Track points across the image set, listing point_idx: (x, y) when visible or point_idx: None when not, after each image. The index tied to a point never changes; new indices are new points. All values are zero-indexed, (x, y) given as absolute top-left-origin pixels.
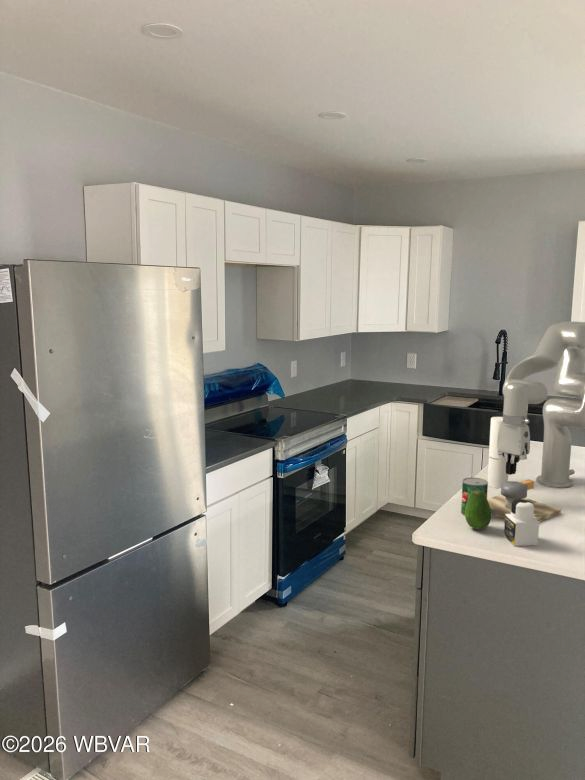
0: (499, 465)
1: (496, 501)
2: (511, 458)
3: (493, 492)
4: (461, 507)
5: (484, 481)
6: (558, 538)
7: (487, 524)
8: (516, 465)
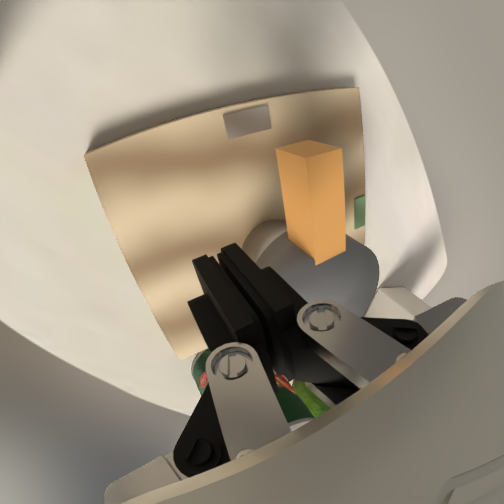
0: None
1: (190, 283)
2: (334, 405)
3: (14, 198)
4: None
5: (290, 427)
6: (414, 230)
7: None
8: (299, 295)
